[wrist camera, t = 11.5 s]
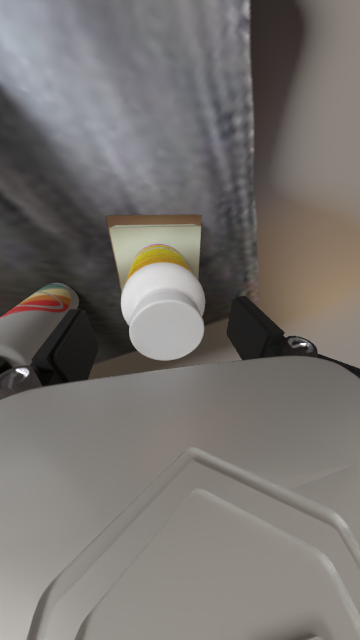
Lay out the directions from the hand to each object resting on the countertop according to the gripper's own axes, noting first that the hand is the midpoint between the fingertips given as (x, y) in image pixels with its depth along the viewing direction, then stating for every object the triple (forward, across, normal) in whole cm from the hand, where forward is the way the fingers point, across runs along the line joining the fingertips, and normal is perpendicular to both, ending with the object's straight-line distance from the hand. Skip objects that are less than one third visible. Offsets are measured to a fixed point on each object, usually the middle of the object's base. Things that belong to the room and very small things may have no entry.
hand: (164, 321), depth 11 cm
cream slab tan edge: (+20, 0, +1) cm, 20 cm away
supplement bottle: (+12, 0, 0) cm, 12 cm away
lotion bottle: (+20, +17, +7) cm, 27 cm away
